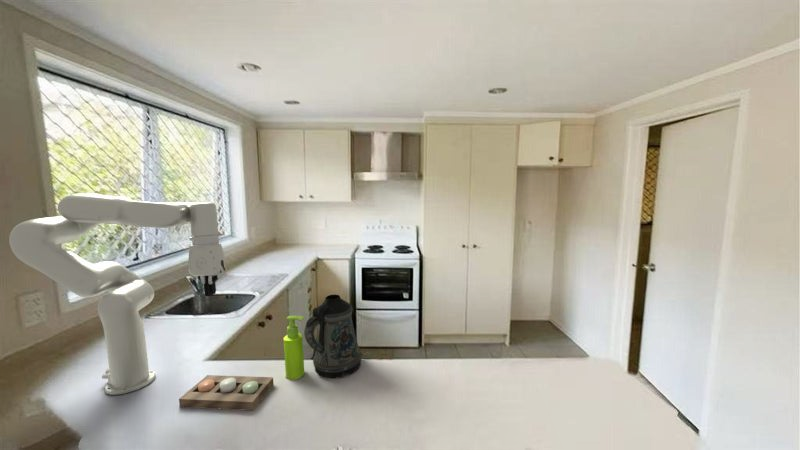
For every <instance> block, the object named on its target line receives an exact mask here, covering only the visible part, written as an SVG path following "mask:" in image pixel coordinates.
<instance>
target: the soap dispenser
mask: <svg viewBox="0 0 800 450" xmlns="http://www.w3.org/2000/svg"><path fill="white" fill-rule="evenodd" d="M304 319H305V317H304V316H301V315H288V316H287V317H286V320H287V321H288V322H289V323H288V324H289V325H287V327H286V333H287V334H286V335H285V336H284V337H283V351H284V353H283V354H284V365H285V366H284V367H285V369H284V371H285V378H286V379H287V378H288V380H297V379H300V378H302V377H303V376H304V375H305V359H304V342H303V339H304V338H303V334H302V333H300V332H299V326H298V325H297V324H296V322H295V321H300V322H301V321H302V320H304Z"/></svg>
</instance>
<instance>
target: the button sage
mask: <svg viewBox="0 0 800 450" xmlns="http://www.w3.org/2000/svg"><path fill="white" fill-rule="evenodd" d="M257 390H258V382H256V381H251V382H247V383H246V384H244V385H243V394H255V393H256V392H257Z"/></svg>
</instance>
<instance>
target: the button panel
mask: <svg viewBox="0 0 800 450" xmlns="http://www.w3.org/2000/svg"><path fill="white" fill-rule="evenodd" d="M228 378H235V379H236V389H235V390H234V391H233V392H231V393H221V391H220V383H221V382H222V381H223V380H225V379H228ZM205 380H214V385H215V387H214V388H213V389H212V390H211V391H210V392H199V391H198V385H199V384H200V383H201V382H203V381H205ZM251 381H256V382H258V390H257V392H256V393H255V394H243V385H244V384H246V383H247V382H251ZM273 386H274V377H272V376H269V377H268V376H249V375H248V376H246V375H245V376H244V375H219V374H218V375H215V374H214V375H213V374H207V375H206V376H204V377H203V378H202V379H201V380H200V381H198V382H197V383H196V384H195V385H194V386H192V388H190V389H189V390H188V391H186V393H185V392H184V394H183V395H182V396H181V397H179V399H178V402H179V408H189V409H190V408H192V409H209V410H211V409H216V410H233V409H246V410H245V411H254V410H255V409H254V408H257V406H258V405H259V404H260V403H261V401H262V400H263V399H264V397H265V396H266V395H267V394H268V393H269V391H270V390H271V389H272V388H273ZM270 388H271V389H270ZM266 393H267V394H266ZM265 394H266V395H265ZM262 398H263V399H262ZM261 399H262V400H261ZM258 403H259V404H258ZM257 404H258V405H257ZM219 408H220V409H219ZM253 409H254V410H253Z"/></svg>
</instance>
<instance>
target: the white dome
mask: <svg viewBox="0 0 800 450" xmlns="http://www.w3.org/2000/svg"><path fill="white" fill-rule="evenodd" d="M235 389H236V379H235V378H228V379H225V380H223V381H222V382H221V383H220V391H221V393H232V392H233V391H234V390H235Z"/></svg>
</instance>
